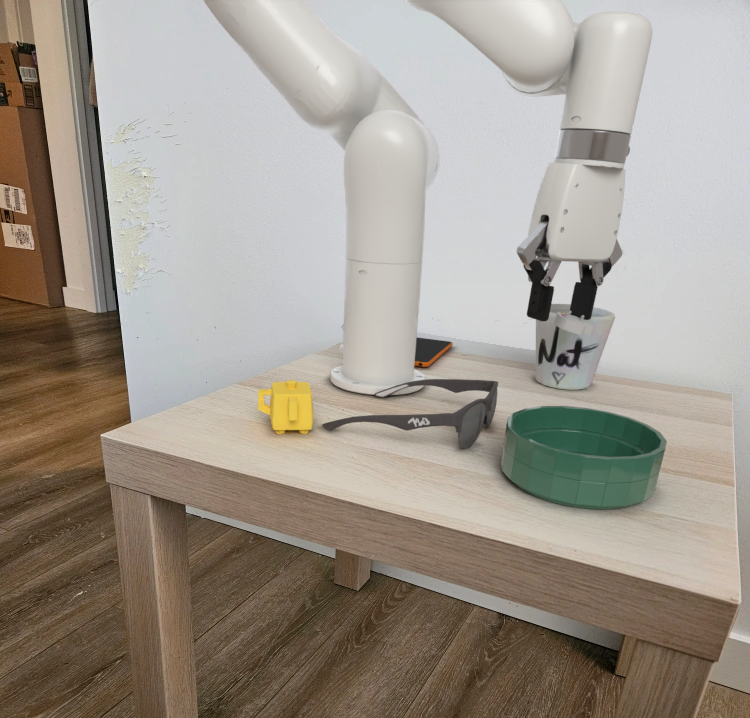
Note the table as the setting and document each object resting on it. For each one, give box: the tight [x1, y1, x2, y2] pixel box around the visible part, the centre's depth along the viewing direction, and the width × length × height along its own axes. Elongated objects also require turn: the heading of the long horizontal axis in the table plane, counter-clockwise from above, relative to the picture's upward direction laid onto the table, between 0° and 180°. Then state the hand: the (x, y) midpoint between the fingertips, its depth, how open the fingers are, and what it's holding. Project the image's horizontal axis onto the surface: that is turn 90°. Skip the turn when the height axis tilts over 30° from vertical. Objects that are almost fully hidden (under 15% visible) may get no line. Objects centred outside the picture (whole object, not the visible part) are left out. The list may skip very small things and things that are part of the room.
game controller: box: [496, 311, 596, 335], centre depth 80 cm, size 6×12×3 cm, turn 103°
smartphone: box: [414, 336, 454, 368], centre depth 106 cm, size 8×17×1 cm, turn 161°
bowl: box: [500, 405, 668, 510], centre depth 63 cm, size 14×14×5 cm
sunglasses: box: [321, 378, 499, 450], centre depth 75 cm, size 16×17×5 cm
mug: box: [535, 303, 616, 391], centre depth 95 cm, size 10×15×10 cm
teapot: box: [257, 379, 314, 435], centre depth 71 cm, size 8×6×5 cm
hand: (558, 316), depth 82 cm, fingers closed on game controller, 6 cm apart
